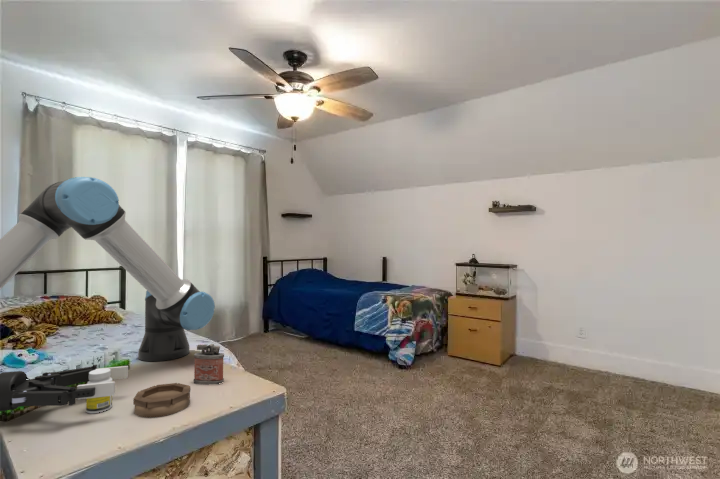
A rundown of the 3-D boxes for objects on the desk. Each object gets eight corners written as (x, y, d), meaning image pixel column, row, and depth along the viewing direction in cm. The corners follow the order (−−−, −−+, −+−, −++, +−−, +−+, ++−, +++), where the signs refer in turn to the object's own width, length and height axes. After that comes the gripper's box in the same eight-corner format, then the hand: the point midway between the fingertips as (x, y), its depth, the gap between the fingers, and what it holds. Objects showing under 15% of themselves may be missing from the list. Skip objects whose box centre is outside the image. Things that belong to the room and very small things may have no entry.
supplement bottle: (94, 405, 84) (95, 367, 84) (116, 404, 84) (117, 367, 84) (80, 414, 79) (81, 374, 79) (104, 413, 79) (104, 374, 80)
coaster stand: (140, 400, 87) (140, 386, 87) (191, 394, 90) (192, 381, 90) (128, 420, 76) (129, 405, 76) (187, 413, 80) (187, 398, 80)
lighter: (226, 380, 100) (226, 343, 100) (220, 385, 96) (220, 346, 97) (197, 379, 101) (198, 342, 101) (190, 384, 97) (191, 345, 98)
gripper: (24, 390, 86) (133, 379, 94) (-43, 437, 65) (105, 418, 72) (25, 358, 87) (133, 349, 94) (-42, 394, 65) (106, 379, 73)
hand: (121, 379), depth 83 cm, fingers open, 10 cm apart
